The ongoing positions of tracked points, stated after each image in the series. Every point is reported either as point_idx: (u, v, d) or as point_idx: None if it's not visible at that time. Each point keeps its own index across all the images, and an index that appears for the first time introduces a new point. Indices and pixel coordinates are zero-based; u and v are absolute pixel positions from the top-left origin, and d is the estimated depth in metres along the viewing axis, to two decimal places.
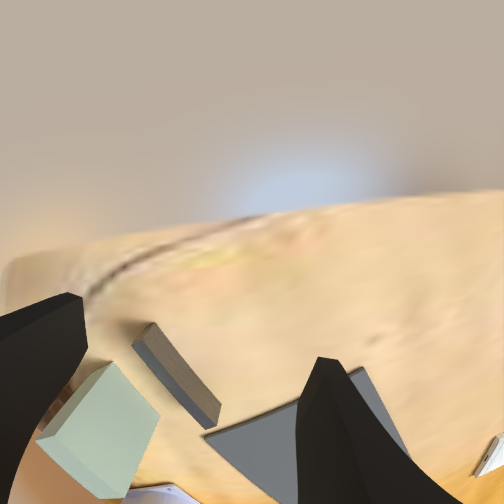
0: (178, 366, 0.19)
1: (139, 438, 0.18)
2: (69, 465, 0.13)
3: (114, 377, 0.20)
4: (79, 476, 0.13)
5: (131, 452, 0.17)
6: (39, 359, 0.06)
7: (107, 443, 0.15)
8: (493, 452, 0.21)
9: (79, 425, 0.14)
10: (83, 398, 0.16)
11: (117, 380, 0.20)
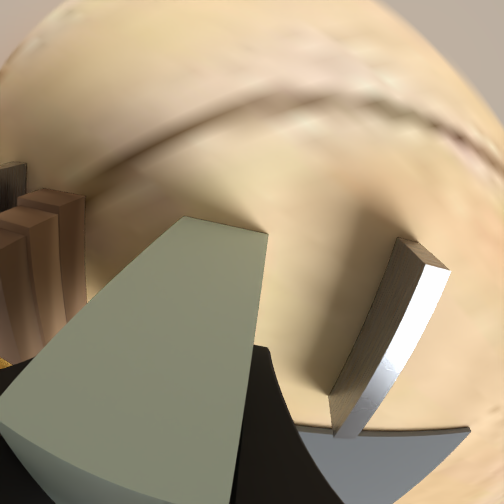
0: None
1: None
2: None
3: None
4: None
5: None
6: None
7: None
8: None
9: None
10: (254, 312, 0.06)
11: None
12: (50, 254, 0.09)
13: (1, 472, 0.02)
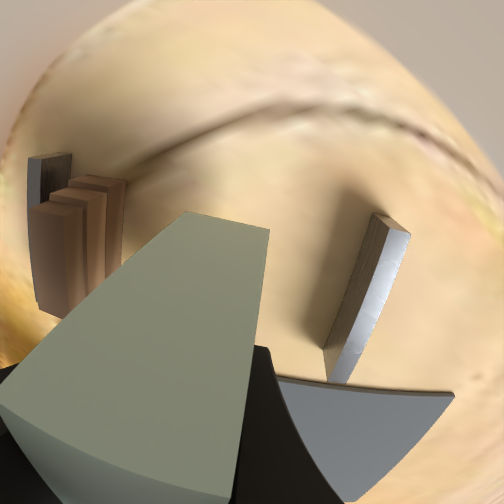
0: None
1: None
2: None
3: None
4: None
5: None
6: None
7: None
8: None
9: None
10: (256, 302, 0.06)
11: None
12: (99, 224, 0.12)
13: (1, 472, 0.02)
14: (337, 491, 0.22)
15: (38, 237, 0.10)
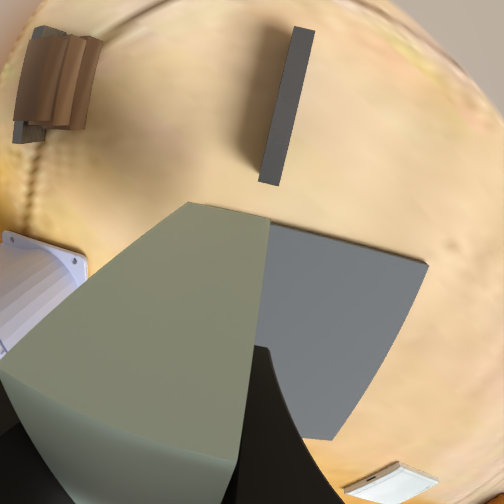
0: None
1: None
2: (107, 491, 0.03)
3: None
4: None
5: None
6: None
7: None
8: (384, 476, 0.26)
9: None
10: (259, 281, 0.06)
11: None
12: (76, 58, 0.13)
13: (1, 472, 0.02)
14: (307, 417, 0.23)
15: (30, 57, 0.11)
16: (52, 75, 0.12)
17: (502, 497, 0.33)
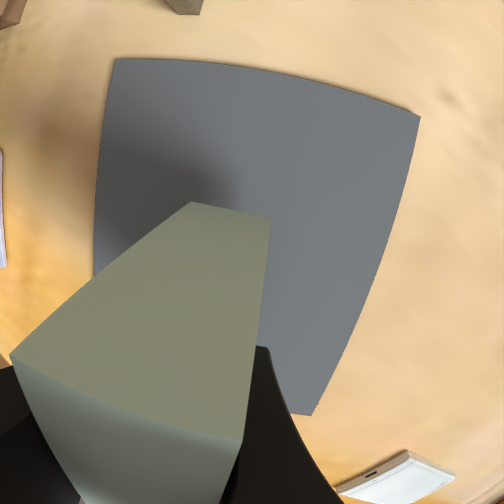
0: None
1: None
2: (114, 479, 0.04)
3: None
4: (108, 494, 0.04)
5: None
6: None
7: None
8: (388, 471, 0.19)
9: None
10: (261, 277, 0.07)
11: None
12: None
13: (1, 472, 0.02)
14: None
15: None
16: None
17: None
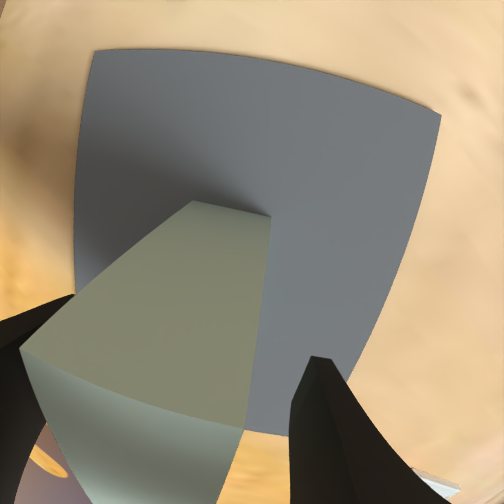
0: None
1: None
2: (118, 471, 0.04)
3: None
4: (111, 486, 0.04)
5: None
6: None
7: None
8: None
9: None
10: (262, 275, 0.07)
11: None
12: None
13: None
14: (269, 400, 0.15)
15: None
16: None
17: None
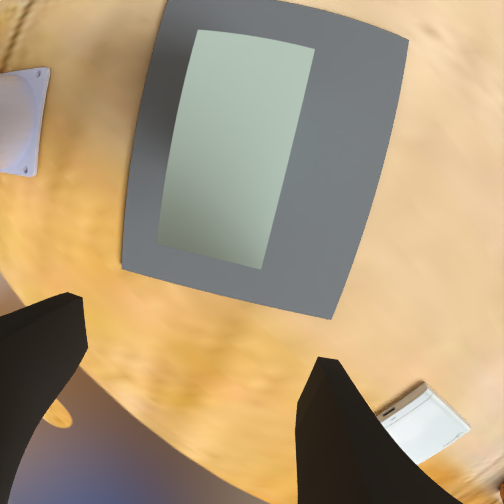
0: None
1: None
2: (225, 121, 0.07)
3: None
4: (205, 161, 0.08)
5: None
6: (39, 359, 0.06)
7: None
8: (407, 406, 0.21)
9: None
10: None
11: None
12: None
13: None
14: (292, 265, 0.18)
15: None
16: None
17: None
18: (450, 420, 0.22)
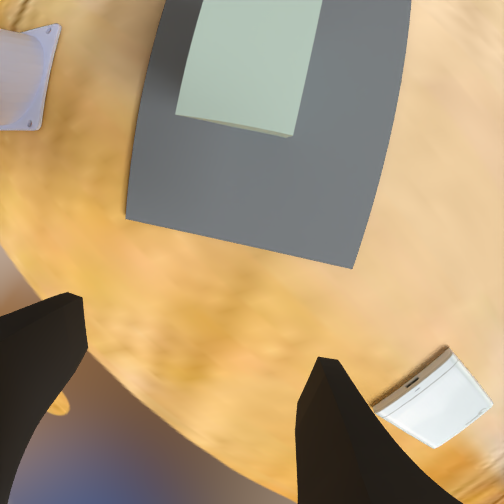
0: None
1: None
2: None
3: None
4: (232, 29, 0.06)
5: None
6: (39, 359, 0.06)
7: None
8: (431, 374, 0.20)
9: None
10: None
11: None
12: None
13: None
14: (310, 205, 0.17)
15: None
16: None
17: None
18: (474, 393, 0.20)
